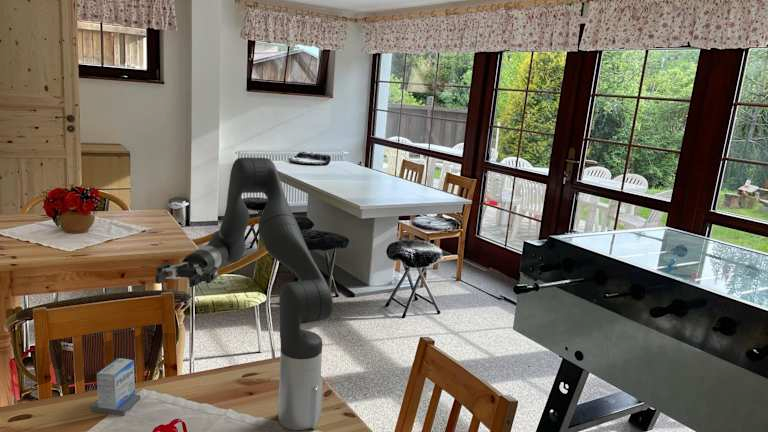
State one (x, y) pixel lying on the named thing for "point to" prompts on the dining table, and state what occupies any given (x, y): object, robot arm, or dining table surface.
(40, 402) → the dining table surface
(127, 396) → the medicine box
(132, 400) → the plate
